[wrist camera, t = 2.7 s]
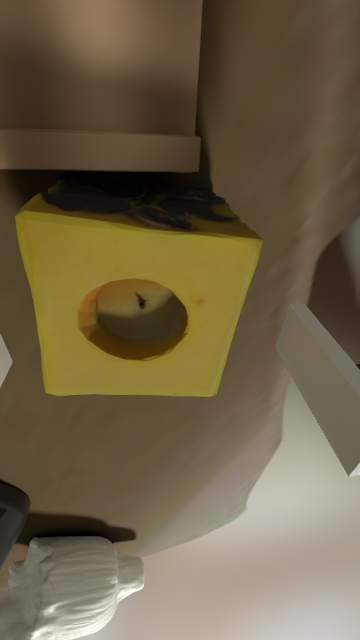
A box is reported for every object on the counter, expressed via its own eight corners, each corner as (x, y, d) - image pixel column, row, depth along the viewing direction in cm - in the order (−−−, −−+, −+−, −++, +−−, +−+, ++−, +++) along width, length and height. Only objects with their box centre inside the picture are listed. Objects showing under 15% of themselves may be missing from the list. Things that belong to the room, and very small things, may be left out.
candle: (191, 309, 26) (219, 400, 18) (73, 302, 24) (42, 401, 16) (218, 187, 20) (276, 240, 12) (63, 164, 18) (8, 209, 10)
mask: (126, 539, 63) (-2, 547, 51) (158, 523, 55) (18, 528, 43) (126, 631, 53) (-31, 667, 42) (165, 627, 46) (-13, 671, 34)
